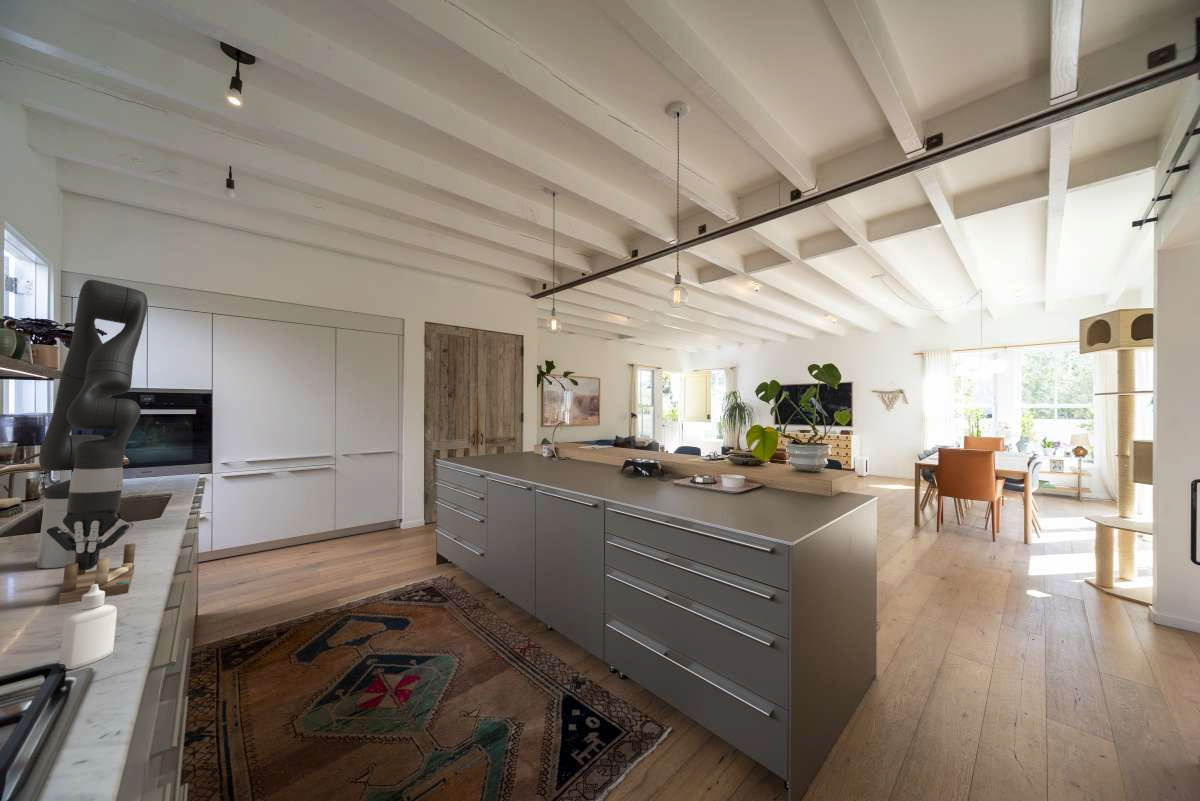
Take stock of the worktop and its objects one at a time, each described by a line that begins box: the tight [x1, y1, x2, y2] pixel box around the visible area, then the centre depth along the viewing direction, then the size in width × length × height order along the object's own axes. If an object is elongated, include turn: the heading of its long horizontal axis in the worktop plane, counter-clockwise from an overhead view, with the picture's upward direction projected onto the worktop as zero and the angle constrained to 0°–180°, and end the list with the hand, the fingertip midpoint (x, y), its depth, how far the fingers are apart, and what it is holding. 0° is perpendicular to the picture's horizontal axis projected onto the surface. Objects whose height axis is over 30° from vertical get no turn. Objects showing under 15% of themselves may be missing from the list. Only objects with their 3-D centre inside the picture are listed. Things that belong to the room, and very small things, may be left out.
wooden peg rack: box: [58, 543, 136, 605], centre depth 97 cm, size 16×10×8 cm, turn 44°
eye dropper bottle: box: [58, 584, 118, 670], centre depth 69 cm, size 4×6×12 cm
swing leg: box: [95, 557, 134, 585], centre depth 98 cm, size 11×2×5 cm, turn 23°
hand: (86, 568), depth 93 cm, fingers closed
